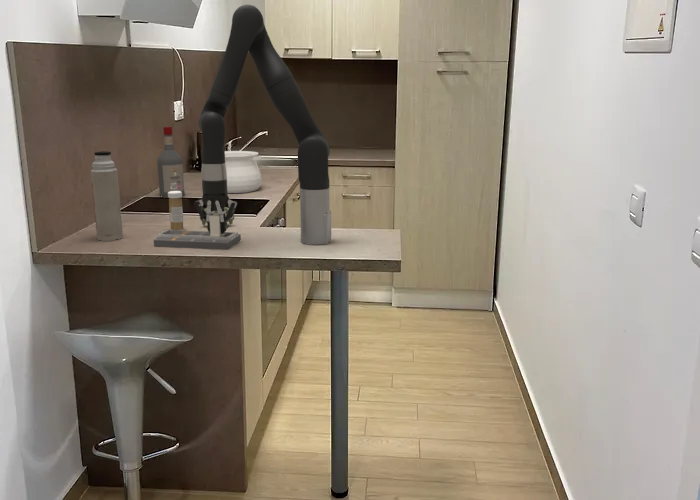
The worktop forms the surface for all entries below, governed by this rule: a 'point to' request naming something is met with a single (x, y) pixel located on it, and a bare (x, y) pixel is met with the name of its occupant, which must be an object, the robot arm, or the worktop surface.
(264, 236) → the worktop surface
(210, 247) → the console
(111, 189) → the thermos bottle
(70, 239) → the worktop surface
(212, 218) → the block
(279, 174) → the worktop surface
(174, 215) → the sprinkles bottle
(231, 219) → the vessel
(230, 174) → the pot
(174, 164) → the liquor
